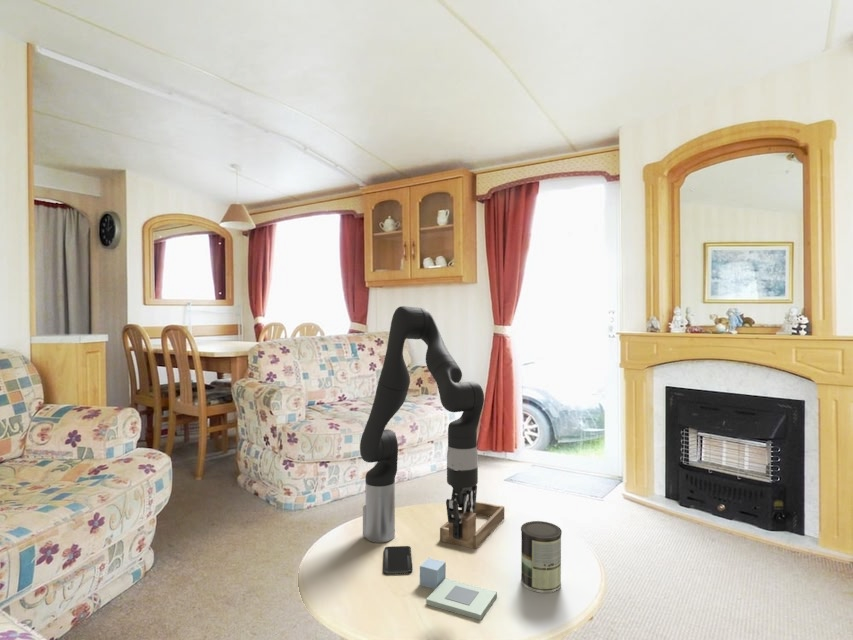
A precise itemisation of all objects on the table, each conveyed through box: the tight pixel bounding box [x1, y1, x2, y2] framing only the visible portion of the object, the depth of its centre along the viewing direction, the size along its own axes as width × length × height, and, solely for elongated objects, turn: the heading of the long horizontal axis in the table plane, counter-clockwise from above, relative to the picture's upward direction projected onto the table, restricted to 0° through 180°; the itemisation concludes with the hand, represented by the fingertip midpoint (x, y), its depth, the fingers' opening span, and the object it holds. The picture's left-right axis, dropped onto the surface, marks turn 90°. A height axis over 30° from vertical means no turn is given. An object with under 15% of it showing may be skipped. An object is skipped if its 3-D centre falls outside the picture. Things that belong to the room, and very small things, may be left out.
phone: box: [383, 545, 413, 576], centre depth 143 cm, size 8×1×15 cm
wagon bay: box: [439, 501, 505, 550], centre depth 165 cm, size 12×26×4 cm, turn 153°
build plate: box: [425, 577, 498, 621], centre depth 123 cm, size 14×11×1 cm
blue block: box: [419, 557, 447, 590], centre depth 131 cm, size 5×5×5 cm
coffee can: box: [520, 520, 563, 594], centre depth 132 cm, size 10×10×14 cm
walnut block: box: [449, 512, 477, 542], centre depth 123 cm, size 5×5×5 cm
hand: (462, 533), depth 123 cm, fingers closed on walnut block, 5 cm apart
